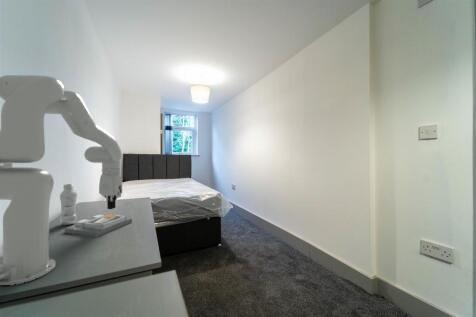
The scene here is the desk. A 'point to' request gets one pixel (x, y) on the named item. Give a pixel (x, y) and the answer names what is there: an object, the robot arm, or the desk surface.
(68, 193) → the plastic bottle
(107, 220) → the breaker switch
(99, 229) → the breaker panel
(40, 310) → the desk surface
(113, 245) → the desk surface
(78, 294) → the desk surface
